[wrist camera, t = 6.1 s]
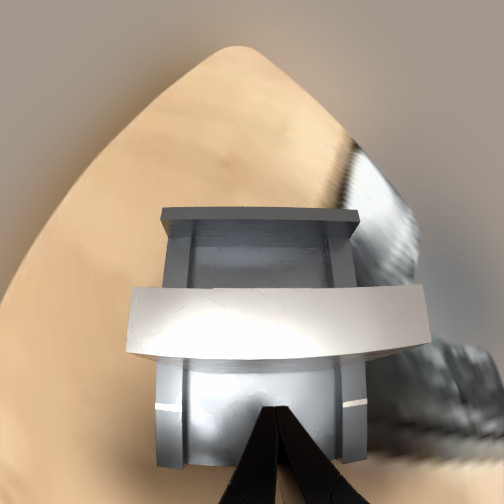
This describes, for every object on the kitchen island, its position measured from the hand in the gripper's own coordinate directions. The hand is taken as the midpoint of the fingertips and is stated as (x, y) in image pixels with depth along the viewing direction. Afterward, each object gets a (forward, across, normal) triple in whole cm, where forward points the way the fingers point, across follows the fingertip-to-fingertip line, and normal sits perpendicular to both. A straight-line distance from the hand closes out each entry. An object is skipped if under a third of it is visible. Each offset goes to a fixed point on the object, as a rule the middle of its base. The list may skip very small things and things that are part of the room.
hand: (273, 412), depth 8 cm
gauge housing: (+8, 0, +2) cm, 8 cm away
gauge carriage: (+7, 0, +2) cm, 7 cm away
